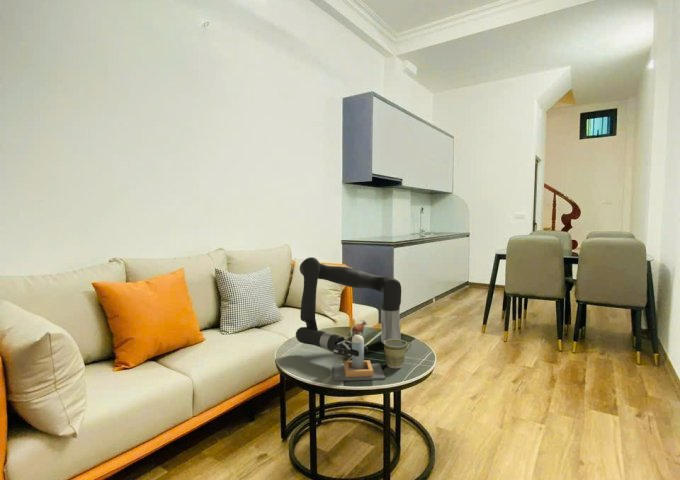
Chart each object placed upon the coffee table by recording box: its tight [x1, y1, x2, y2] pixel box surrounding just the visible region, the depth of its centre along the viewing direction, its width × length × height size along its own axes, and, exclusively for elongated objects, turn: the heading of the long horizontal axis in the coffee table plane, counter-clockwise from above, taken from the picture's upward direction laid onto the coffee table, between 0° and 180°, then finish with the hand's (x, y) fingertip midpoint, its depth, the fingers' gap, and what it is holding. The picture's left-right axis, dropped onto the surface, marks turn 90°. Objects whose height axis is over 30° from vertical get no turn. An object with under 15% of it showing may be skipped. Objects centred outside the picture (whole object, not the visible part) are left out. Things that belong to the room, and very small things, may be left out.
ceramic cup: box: [383, 339, 412, 369], centre depth 160 cm, size 13×10×10 cm
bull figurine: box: [351, 319, 368, 339], centre depth 199 cm, size 4×13×8 cm, turn 147°
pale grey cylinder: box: [351, 334, 365, 370], centre depth 152 cm, size 5×5×14 cm
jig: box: [332, 359, 386, 382], centre depth 153 cm, size 20×14×3 cm
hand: (362, 352), depth 151 cm, fingers closed on pale grey cylinder, 5 cm apart
